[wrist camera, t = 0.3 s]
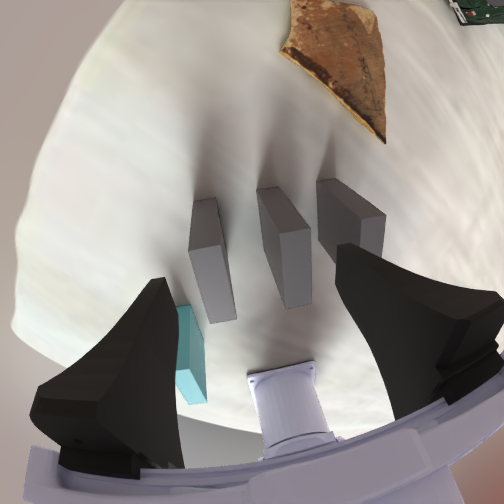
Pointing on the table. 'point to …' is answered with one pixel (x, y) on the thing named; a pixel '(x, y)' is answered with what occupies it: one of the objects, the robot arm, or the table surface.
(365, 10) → the shard
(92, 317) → the table surface
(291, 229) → the domino
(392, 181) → the table surface
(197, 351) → the domino
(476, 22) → the miniature car
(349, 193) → the domino
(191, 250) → the domino
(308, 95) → the table surface
